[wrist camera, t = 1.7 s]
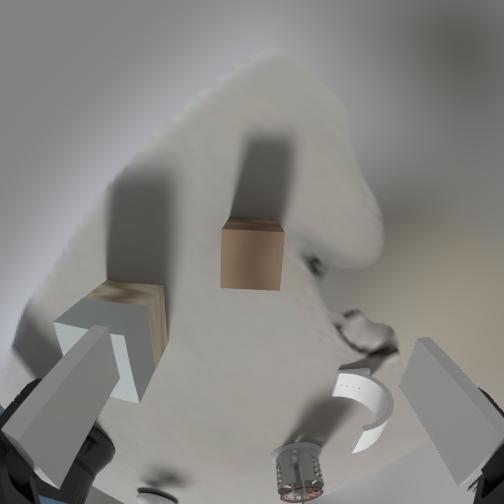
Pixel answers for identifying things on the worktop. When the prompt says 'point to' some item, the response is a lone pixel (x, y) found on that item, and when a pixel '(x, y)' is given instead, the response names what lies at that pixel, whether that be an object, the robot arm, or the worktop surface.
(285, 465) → the french press
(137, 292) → the beech block
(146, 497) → the flower in vase
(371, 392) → the white curved piece
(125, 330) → the grey block
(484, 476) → the robot arm
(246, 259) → the walnut block
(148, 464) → the worktop surface
